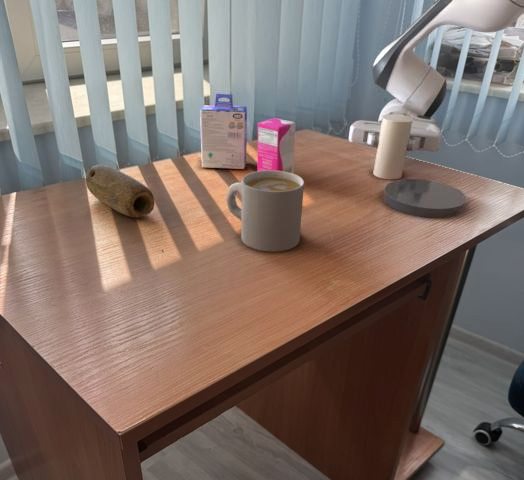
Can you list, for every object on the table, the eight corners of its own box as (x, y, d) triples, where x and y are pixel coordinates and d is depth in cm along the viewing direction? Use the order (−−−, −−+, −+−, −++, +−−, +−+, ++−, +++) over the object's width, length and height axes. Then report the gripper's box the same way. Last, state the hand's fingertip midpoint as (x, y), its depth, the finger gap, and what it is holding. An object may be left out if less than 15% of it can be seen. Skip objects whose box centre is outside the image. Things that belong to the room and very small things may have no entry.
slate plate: (437, 185, 113) (439, 176, 112) (480, 214, 101) (483, 205, 99) (370, 189, 109) (371, 181, 108) (405, 220, 97) (407, 211, 96)
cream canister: (393, 169, 120) (404, 113, 113) (406, 178, 115) (418, 121, 108) (368, 170, 119) (377, 114, 111) (380, 180, 114) (390, 122, 106)
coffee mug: (310, 238, 89) (316, 180, 83) (273, 257, 83) (277, 197, 77) (253, 215, 96) (254, 161, 90) (215, 232, 90) (213, 174, 84)
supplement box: (272, 171, 116) (274, 116, 109) (293, 178, 113) (297, 122, 106) (255, 178, 112) (257, 121, 105) (277, 185, 109) (280, 127, 102)
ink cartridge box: (246, 162, 120) (247, 93, 111) (245, 170, 116) (246, 99, 107) (204, 160, 120) (201, 91, 111) (201, 168, 116) (198, 97, 107)
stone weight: (81, 202, 98) (75, 166, 94) (112, 192, 103) (107, 158, 98) (131, 226, 91) (126, 188, 87) (162, 214, 95) (159, 178, 91)
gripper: (353, 110, 123) (347, 125, 112) (442, 119, 119) (444, 135, 109) (349, 138, 127) (343, 155, 116) (435, 147, 123) (437, 165, 113)
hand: (392, 145), depth 112 cm, fingers closed on cream canister, 6 cm apart
